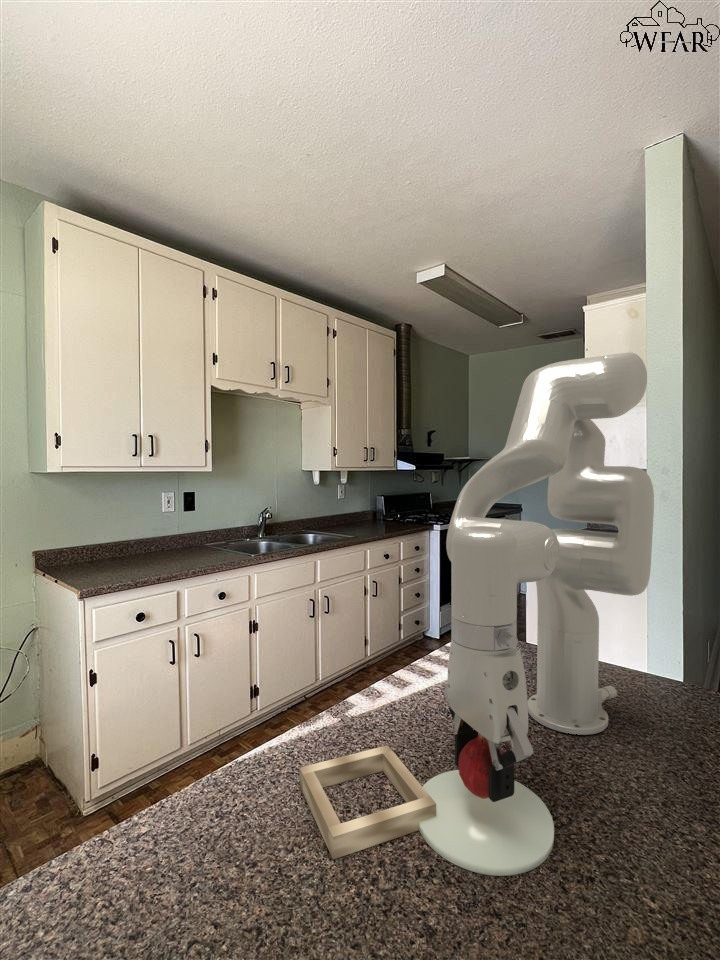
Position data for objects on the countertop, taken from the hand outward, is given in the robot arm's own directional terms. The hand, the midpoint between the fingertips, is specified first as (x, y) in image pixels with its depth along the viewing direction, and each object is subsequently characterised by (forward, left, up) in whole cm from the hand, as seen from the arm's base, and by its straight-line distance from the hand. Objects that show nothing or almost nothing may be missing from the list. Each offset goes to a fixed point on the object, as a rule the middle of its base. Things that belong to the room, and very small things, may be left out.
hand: (483, 778), depth 58 cm
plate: (0, 0, -5) cm, 5 cm away
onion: (0, 0, -3) cm, 3 cm away
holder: (+12, -8, -5) cm, 15 cm away
